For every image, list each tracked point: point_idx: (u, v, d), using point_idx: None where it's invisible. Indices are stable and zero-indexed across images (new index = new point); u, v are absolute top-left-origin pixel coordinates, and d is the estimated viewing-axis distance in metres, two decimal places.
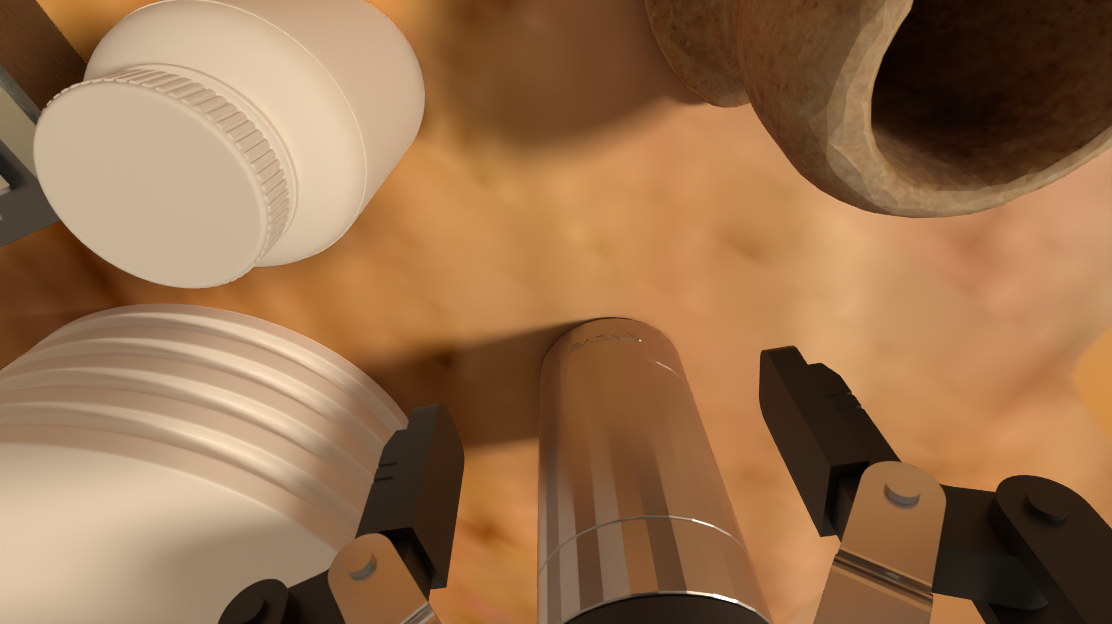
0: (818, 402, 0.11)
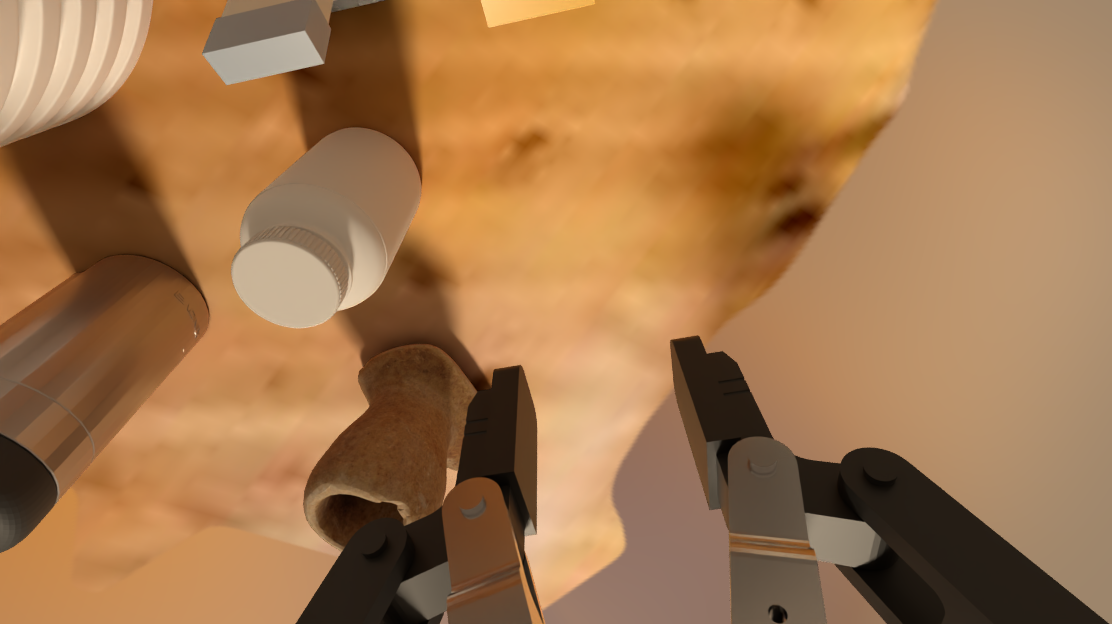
0: (708, 386, 0.12)
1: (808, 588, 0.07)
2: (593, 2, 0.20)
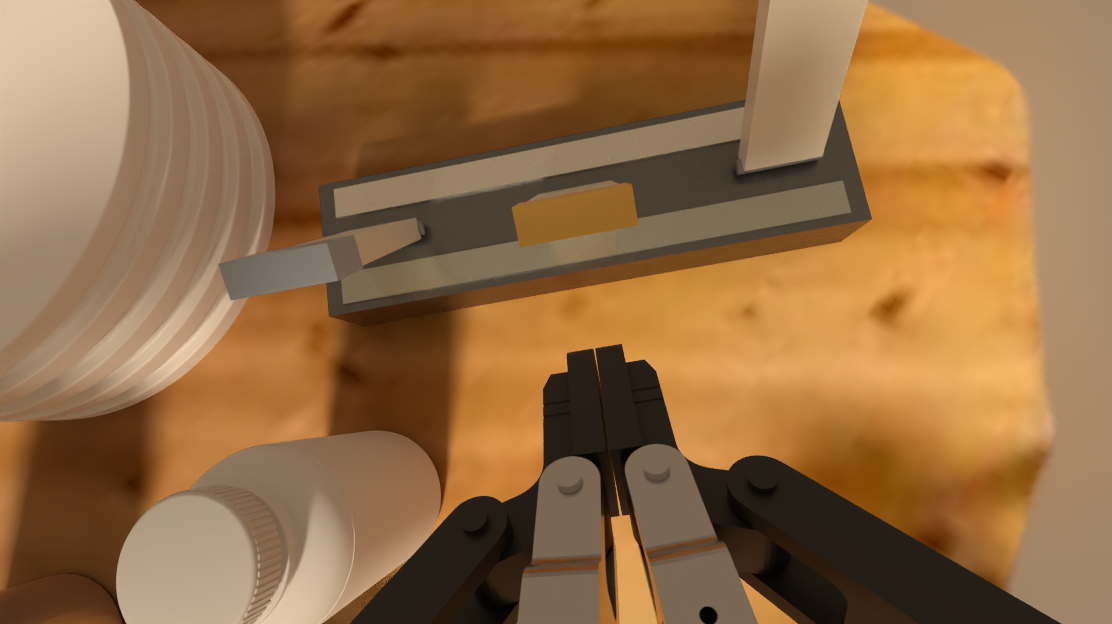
0: (621, 394, 0.12)
1: (728, 580, 0.08)
2: (636, 223, 0.19)
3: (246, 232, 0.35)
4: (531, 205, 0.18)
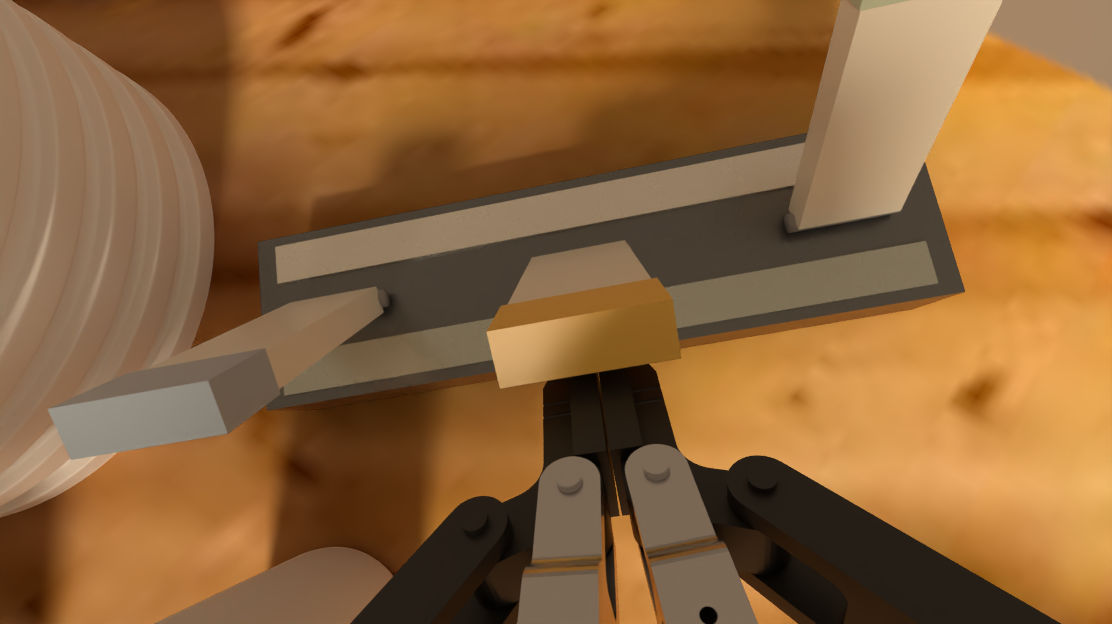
0: (621, 394, 0.12)
1: (728, 581, 0.08)
2: (678, 355, 0.12)
3: (174, 293, 0.29)
4: (516, 328, 0.12)
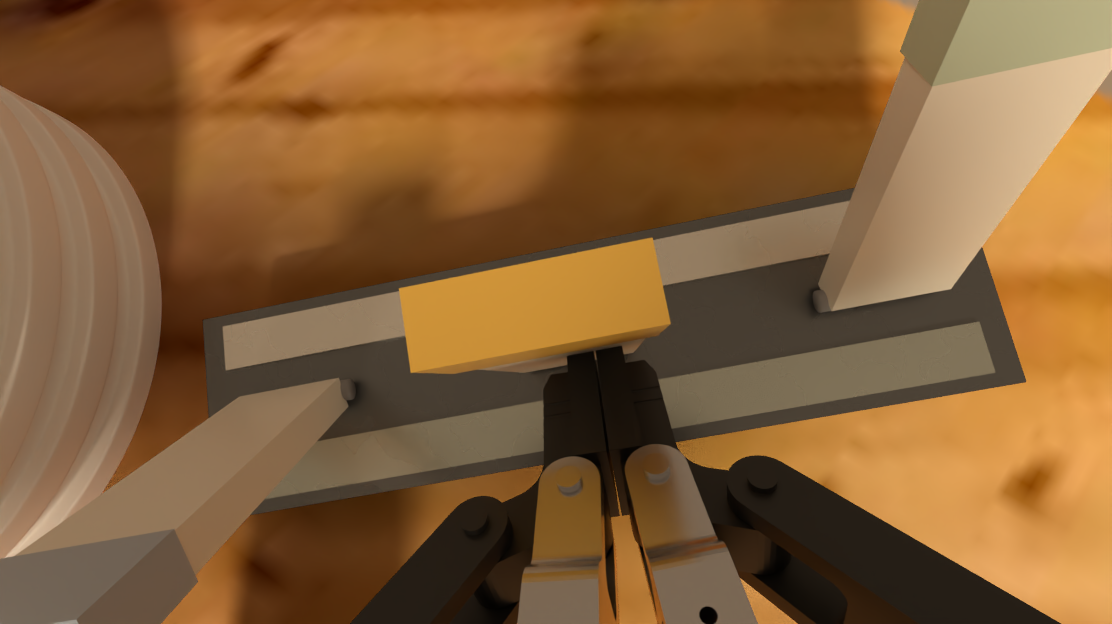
0: (621, 394, 0.12)
1: (728, 580, 0.08)
2: (666, 319, 0.08)
3: (115, 370, 0.25)
4: (439, 282, 0.09)
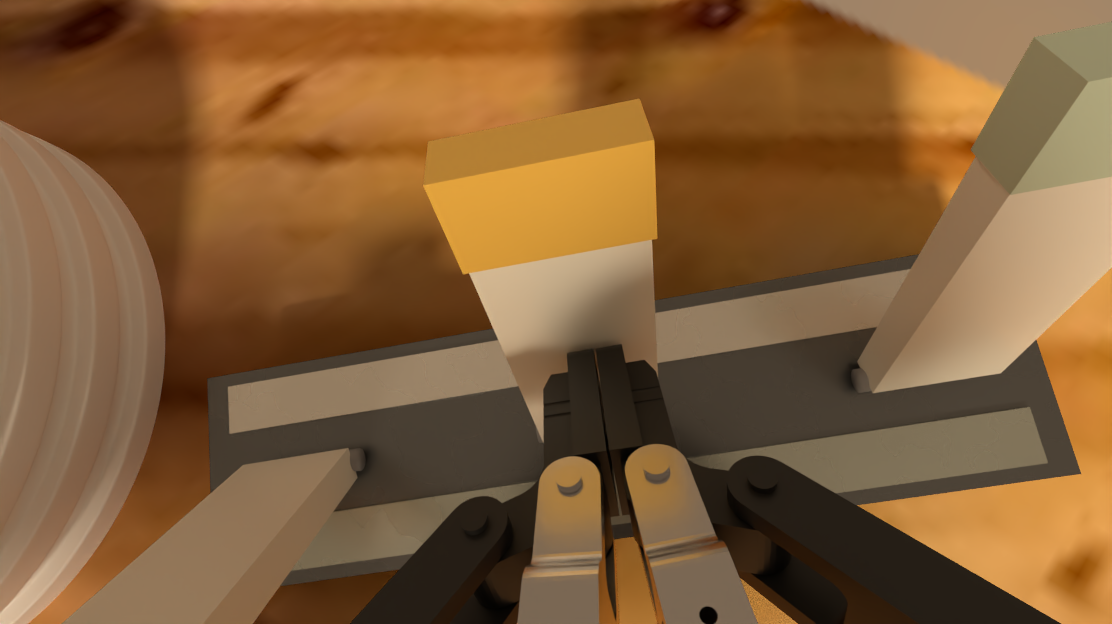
0: (621, 395, 0.12)
1: (728, 580, 0.08)
2: (650, 137, 0.09)
3: (114, 422, 0.24)
4: None
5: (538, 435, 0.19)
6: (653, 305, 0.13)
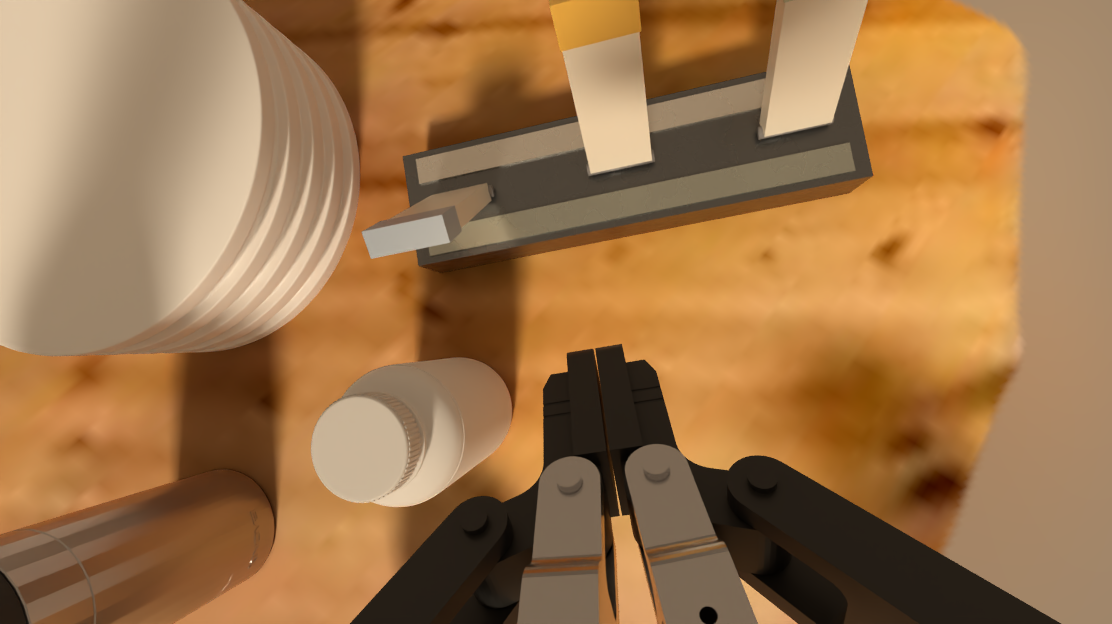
0: (621, 394, 0.12)
1: (728, 580, 0.08)
2: None
3: None
4: None
5: (587, 170, 0.35)
6: (642, 71, 0.29)
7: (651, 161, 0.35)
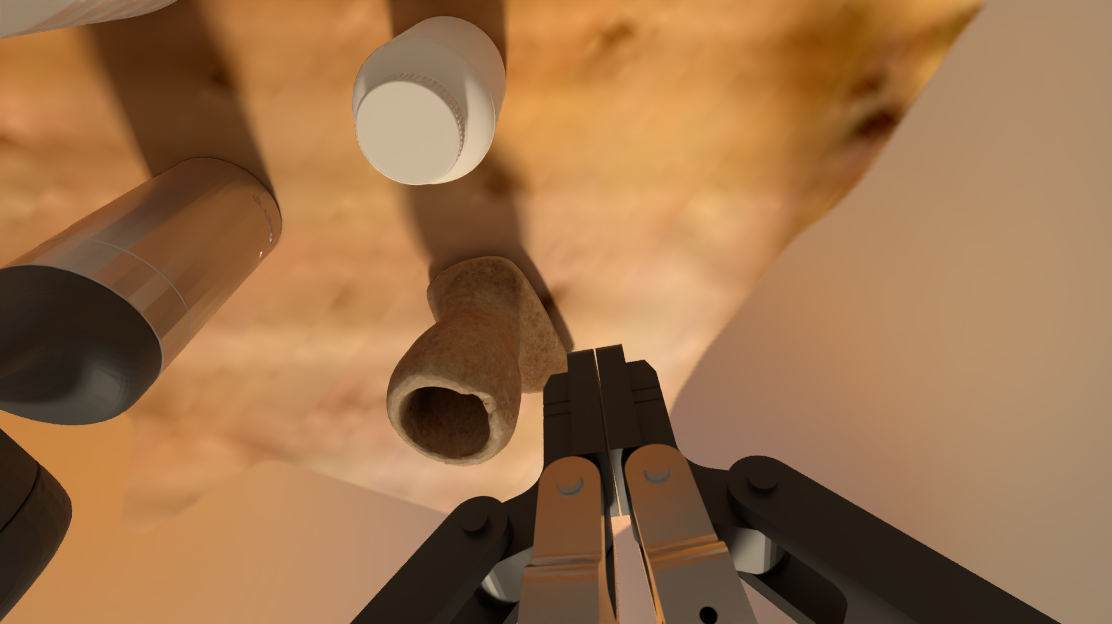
0: (621, 394, 0.12)
1: (728, 580, 0.08)
2: None
3: None
4: None
5: None
6: None
7: None
